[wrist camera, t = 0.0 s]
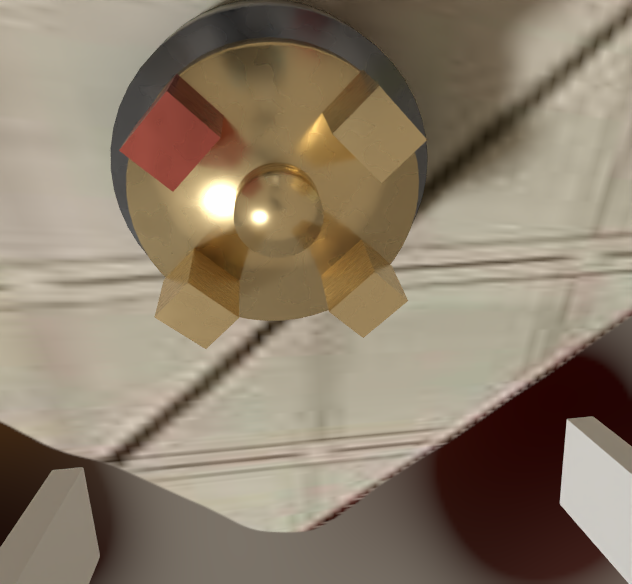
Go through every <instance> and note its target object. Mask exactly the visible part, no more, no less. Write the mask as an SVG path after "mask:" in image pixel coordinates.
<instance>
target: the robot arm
mask: <svg viewBox="0 0 632 584" xmlns="http://www.w3.org/2000/svg"><path fill="white" fill-rule="evenodd" d="M560 505H561V506H562V507H563V508H564V509H565V510H566V511H567V513H568V514H569V515H570V516H571V517H572V518H573V520H574V521H575V522H576V523H577V524H578V525H579V526H580V528H581V529H582V530H583V531H584V532H585V533H586V534H587V536H588V537H589V538H590V539H591V540H592V542H593V543H594V544H595V545H596V546H597V547H598V548H599V550H600V551H601V552H602V553H603V554H604V555H605V556H606V558H607V559H608V560H609V561H610V562H611V563H612V565H613V566H614V567H615V568H616V569H617V570H618V571H619V573H621V575H622V576H623V577H624V578H625V580H626V581H627V582H628V583H629V584H632V447H631V446H630V445H628V443H626V442H625V441H624V440H622V439H621V438H620V437H619V436H617V435H616V434H615V433H613V432H612V431H611V430H609V429H608V428H607V427H606V426H604V425H603V424H602V423H600V422H599V421H598V420H597V419H595V418H594V417H583V418H573V419H567V424H566V437H565V449H564V460H563V472H562V484H561V496H560ZM99 557H100V554H99V549H98V544H97V538H96V534H95V528H94V523H93V517H92V512H91V506H90V502H89V496H88V491H87V485H86V480H85V474H84V469H83V467H81V468H70V469H61V470H52V472H51V473H50V475H49V476H48V478H47V479H46V481H45V482H44V483H43V485H42V486H41V488H40V489H39V491H38V492H37V494H36V495H35V497H34V498H33V500H32V501H31V503H30V504H29V506H28V507H27V509H26V510H25V512H24V513H23V515H22V516H21V518H20V519H19V521H18V522H17V524H16V525H15V527H14V528H13V529H12V531H11V533H10V534H9V535H8V537H7V538H6V540H5V541H4V543H3V544H2V546H1V547H0V584H89V582H90V579H91V577H92V574H93V572H94V570H95V567H96V565H97V562H98V560H99Z"/></svg>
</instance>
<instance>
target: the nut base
mask: <svg viewBox="0 0 632 584" xmlns="http://www.w3.org/2000/svg"><path fill="white" fill-rule="evenodd" d="M265 37H273V38H289V39H294V40H299V41H304V42H309V43H311V44H314V45H317V46H320V47H322V48H325V49H328V50H330V51H331V52H333V53H335V54H337V55H339V56H341V57H343V58H345V59H346V60H347V61H349V62H350V63H351V64H353V65H354V66H356V67H357V68H358V69H360V70H361V71H362V70H364V71H365V72H366V73H367V74H368V75H369V76H370V77H371V78H372V79H373V80H374V81H375V82H376V83H377V84H378V85H379V86H380V87H381V88H382V89H383V90H384V91H385V93H386V94H387V95H388V96H389V97H390V98H391V99H392V101H393V102H394V103H395V104H396V105H397V106H398V107H399V108H400V110H401V111H402V112H403V113H404V114H405V115H406V116H407V117H408V119H409V120H410V121H411V122H412V123H413V124H414V125H415V127H416V128H417V129H418V130H419V131H420V132H421V133H422V134H423V136H424V137H425V138H426V136H425V131H424V127H423V122H422V118H421V115H420V112H419V109H418V107H417V104H416V101H415V99H414V97H413V95H412V93H411V91H410V89H409V87H408V85H407V84H406V82H405V80H404V78H403V77H402V76H401V74H400V73H399V72H398V70H397V69H396V67H395V66H394V65H393V63H392V62H391V61H390V60H389V59H388V58H387V57H386V56H385V55H384V54H383V53H382V52H381V51H380V50H379V49H378V48H377V47H376V46H375V45H374V44H373V43H371V42H370V41H369V40H367V39H366V38H365V37H363V36H362V35H361V34H360V33H358V32H357V31H355V30H354V29H353V28H351V27H350V26H348V25H347V24H345V23H344V22H342V21H340V20H339V19H337V18H335V17H333V16H331V15H330V14H328V13H326V12H324V11H321V10H318V9H316V8H313V7H310V6H308V5H305V4H300V3H296V2H291V1H287V0H243V1H239V2H234V3H230V4H226V5H222V6H219V7H217V8H214V9H212V10H210V11H207V12H205V13H202V14H201V15H199V16H197V17H195V18H194V19H192V20H190V21H189V22H187V23H185V24H184V25H183V26H181V27H180V28H179V29H178V30H177V31H175V32H174V33H173V34H172V35H171V36H169V37H168V38H167V39H166V40H165V41H164V42H163V44H162V45H161V46H160V47H159V48H158V49H157V50H156V51H155V52H154V53H153V54H152V55H151V57H150V58H149V59H148V60H147V61H146V62H145V63H144V64H143V66H142V67H141V68H140V70H139V71H138V73H137V74H136V76H135V77H134V79H133V80H132V82H131V83H130V85H129V87H128V89H127V91H126V93H125V95H124V98H123V100H122V102H121V104H120V106H119V110H118V113H117V117H116V121H115V124H114V128H113V135H112V143H111V173H112V179H113V186H114V191H115V194H116V198H117V201H118V204H119V208H120V210H121V213H122V215H123V217H124V219H125V221H126V224H127V226H128V228H129V229H130V231H131V233H132V234H133V236H134V238H135V239H136V241H137V242H138V244H139V245H140V246H141V248H142V249H143V250H144V248H143V247H142V245H141V243H140V241H139V238H138V236H137V234H136V232H135V229H134V227H133V223H132V220H131V216H130V213H129V208H128V201H127V194H126V172H127V166H128V159H129V158H128V157H127V156H125V155H124V154H123V153H121V152H120V151H119V150H120V148H121V147H122V145H123V144H124V142H125V140H126V139H127V137H128V136H129V134H130V133H131V131H132V130H133V128H134V127H135V125H136V124H137V123H138V122H139V120H140V119H141V118H142V117H143V115H144V114H145V113H146V112H147V110H148V109H149V108H150V107H151V105H152V104H153V102H154V101H155V99H156V98H157V96H158V95H159V93H160V92H161V90H162V89H163V88H164V86H165V85H166V84H167V83H168V82H169V81H170V80H171V79H172V78H173V77H174V76H175V75H176V74H177V73H178V72H179V71H180V70H182V69H183V68H184V67H185V66H187V65H188V64H189V63H190V62H192V61H193V60H195V59H197V58H198V57H200V56H202V55H203V54H205V53H207V52H209V51H211V50H213V49H216V48H218V47H221V46H223V45H226V44H229V43H233V42H237V41H241V40H246V39H253V38H265ZM415 154H416V159H417V164H418V175H419V189H418V201H417V206H416V212H415V216H414V219H415V217H416V214H417V212H418V209H419V206H420V203H421V200H422V196H423V192H424V187H425V181H426V174H427V146H426V142H424V143H423V144H422V145H421V146H420V147H419V148H418V149H417V150H416V151H415ZM414 219H413V221H414ZM412 223H413V222H412ZM144 251H145V250H144ZM145 253H146V252H145ZM146 254H147V253H146Z"/></svg>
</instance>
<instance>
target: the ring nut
mask: <svg viewBox="0 0 632 584" xmlns="http://www.w3.org/2000/svg"><path fill="white" fill-rule="evenodd" d="M426 141H427V139H426V138H425V137H424V136H423V134H422V133H421V132H420V131H419V130H418V129H417V128H416V127H415V125H414V124H413V123H412V122H411V121H410V120H409V119H408V117H407V116H406V115H405V114H404V113H403V112H402V111H401V110H400V108H399V107H398V106H397V105H396V104H395V103H394V102H393V101H392V99H391V98H390V97H389V96H388V95H387V94H386V93H385V91H384V90H383V89H382V88H381V87H380V86H379V85H378V84H377V83H376V82H375V81H374V80H373V79H372V78H371V77H370V76H369V75H368V74H367V73H366V72H365V71H364V70H362V71H361V70H360V69H358V68H357V67H356V66H354V65H353V64H351V63H350V62H349V61H347V60H346V59H345V58H343V57H341V56H339V55H337V54H335V53H333V52H331V51H330V50H328V49H325V48H322V47H320V46H317V45H314V44H311V43H309V42H304V41H299V40H294V39H289V38H273V37H265V38H253V39H246V40H241V41H237V42H233V43H229V44H226V45H223V46H221V47H218V48H216V49H213V50H211V51H209V52H207V53H205V54H203V55H202V56H200V57H198V58H197V59H195V60H193V61H192V62H190V63H189V64H188V65H187V66H185V67H184V68H183V69H182V70H180V71H179V72H178V73H177V74H176V75H175V76H174V77H173V78H172V79H171V80H170V81H169V82H168V83H167V84H166V85H165V86H164V88H163V89H162V90H161V92H160V93H159V95H158V96H157V98H156V99H155V101H154V102H153V104H152V105H151V107H150V108H149V109H148V110H147V112H146V113H145V114H144V115H143V117H142V118H141V119H140V120H139V122H138V123H137V124H136V125H135V127H134V128H133V130H132V131H131V133H130V134H129V136H128V137H127V139H126V140H125V142H124V144H123V145H122V147H121V148H120V150H119V151H120V152H121V153H123V154H124V155H125V156H127V157H128V158H129V159H128V166H127V172H126V194H127V201H128V208H129V213H130V216H131V220H132V223H133V227H134V229H135V232H136V234H137V236H138V238H139V241H140V243H141V245H142V247H143V248H144V250H145V252H146V253H147V255H148V256H149V258H150V260H151V261H152V262H153V263H154V265H155V266H156V267H157V268H158V270H159V271H160V272H161V273H162V274H163V275H164V276H165V277H166V278H165V279H164V282H163V286H162V290H161V294H160V298H159V302H158V306H157V310H156V313H155V318H157V319H158V320H160V321H161V322H163V323H165V324H166V325H168V326H169V327H171V328H173V329H174V330H176V331H178V332H179V333H181V334H182V335H184V336H186V337H187V338H189V339H190V340H192V341H194V342H195V343H197V344H198V345H200V346H202V347H203V348H205V349H207V348H208V347H209V346H210V345H211V344H212V343H213V342H214V341H215V340H216V339H217V338H218V337H219V336H220V335H221V334H222V333H223V332H224V331H226V330H227V329H228V328H229V327H230V326H231V325H232V324H233V323H234V322H235V321H236V320H237V319H238V318H239V317H242V318H247V319H254V320H265V321H272V320H290V319H298V318H303V317H307V316H311V315H315V314H318V313H321V312H324V311H327V310H329V312H330V313H331V314H333V315H334V316H335V317H337V318H338V319H339V320H341V321H342V322H343V323H344V324H346V325H347V326H348V327H350V328H351V329H352V330H354V331H355V332H356V333H358V334H359V335H360V336H361V337H363V338H364V337H365V336H366V335H367V334H368V333H370V332H371V331H372V330H373V329H374V328H376V327H377V326H378V325H379V324H381V323H382V322H383V321H384V320H385V319H387V318H388V317H389V316H390V315H391V314H393V313H394V312H395V311H396V310H397V309H399V308H400V307H401V306H402V305H403V304H405V303H406V302H407V301H408V300H407V297H406V295H405V293H404V291H403V289H402V287H401V285H400V283H399V280H398V278H397V276H396V274H395V272H394V270H393V268H392V266H391V265H390V264H391V263H392V261H393V260H394V259H395V257H396V256H397V254H398V252H399V251H400V249H401V248H402V246H403V244H404V242H405V240H406V238H407V235H408V233H409V231H410V228H411V225H412V222H413V219H414V216H415V212H416V206H417V201H418V189H419V175H418V164H417V159H416V154H415V151H416V150H417V149H418V148H419V147H420V146H421V145H422V144H423V143H424V142H426Z"/></svg>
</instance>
